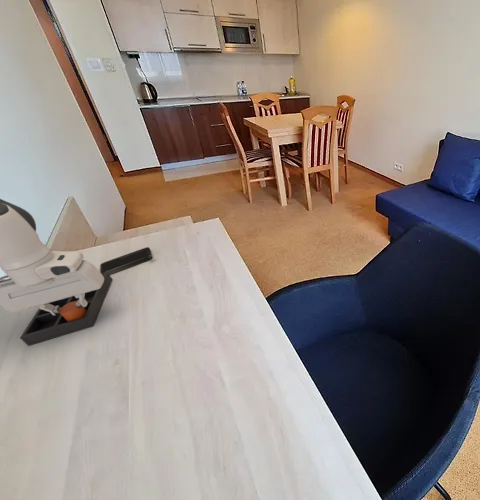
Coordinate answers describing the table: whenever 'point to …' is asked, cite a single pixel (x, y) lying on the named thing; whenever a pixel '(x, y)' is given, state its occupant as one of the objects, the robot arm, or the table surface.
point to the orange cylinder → (72, 311)
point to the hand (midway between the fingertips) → (71, 309)
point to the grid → (55, 326)
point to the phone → (126, 261)
